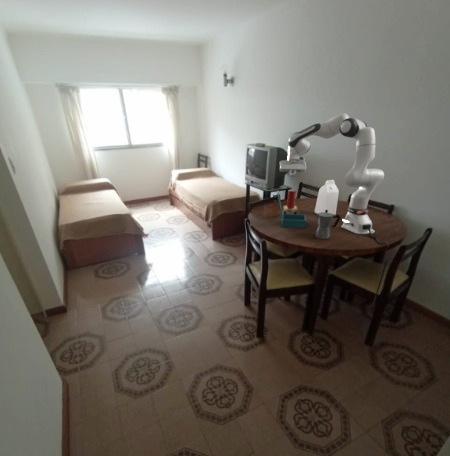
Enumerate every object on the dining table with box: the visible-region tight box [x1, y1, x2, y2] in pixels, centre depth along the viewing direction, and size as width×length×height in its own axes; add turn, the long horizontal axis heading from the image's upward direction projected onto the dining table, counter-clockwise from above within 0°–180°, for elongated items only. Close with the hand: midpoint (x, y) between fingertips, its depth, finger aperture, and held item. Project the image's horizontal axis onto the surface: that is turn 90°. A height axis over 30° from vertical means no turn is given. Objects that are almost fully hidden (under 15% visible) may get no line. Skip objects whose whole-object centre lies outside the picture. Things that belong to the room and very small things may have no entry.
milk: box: [314, 179, 340, 215], centre depth 216 cm, size 12×12×26 cm
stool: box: [283, 205, 299, 214], centre depth 212 cm, size 10×10×8 cm
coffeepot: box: [314, 210, 341, 240], centre depth 175 cm, size 15×9×18 cm, turn 68°
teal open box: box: [281, 213, 307, 228], centre depth 199 cm, size 17×13×6 cm
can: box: [286, 189, 297, 209], centre depth 207 cm, size 6×6×13 cm
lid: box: [271, 190, 284, 220], centre depth 195 cm, size 17×13×5 cm
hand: (292, 175), depth 210 cm, fingers closed
